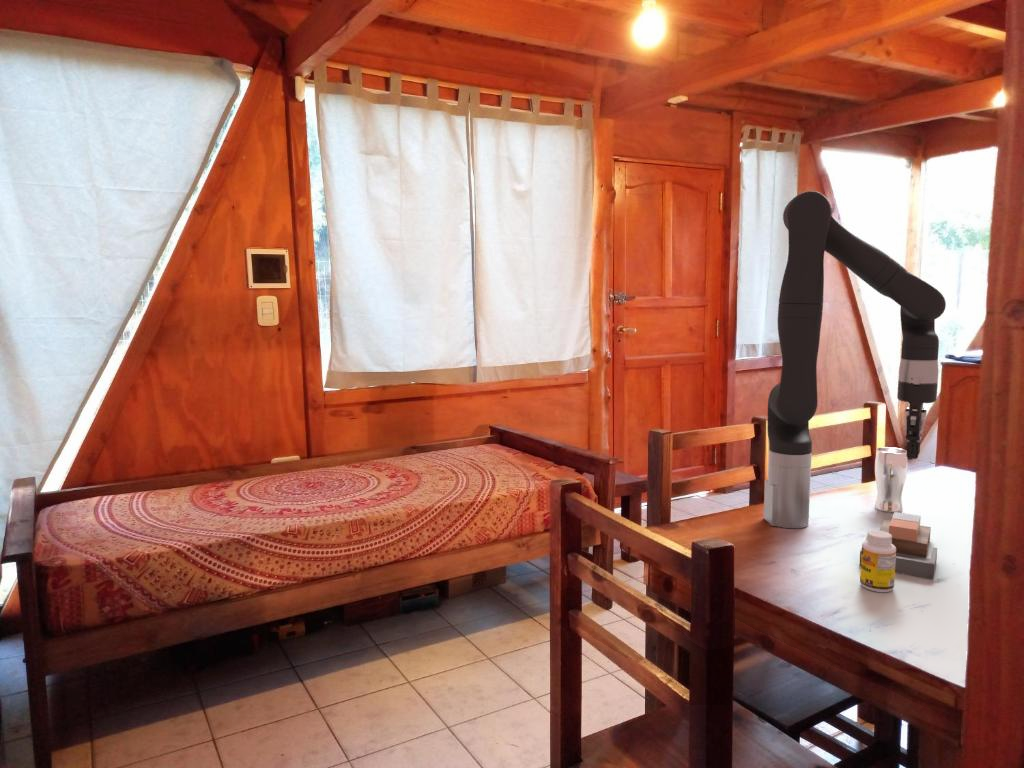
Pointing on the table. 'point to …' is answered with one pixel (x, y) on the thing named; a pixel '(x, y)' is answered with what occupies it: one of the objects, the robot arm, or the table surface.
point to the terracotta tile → (904, 530)
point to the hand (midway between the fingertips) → (913, 455)
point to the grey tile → (907, 517)
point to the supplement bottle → (878, 562)
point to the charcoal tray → (915, 564)
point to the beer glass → (890, 478)
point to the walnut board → (908, 546)
